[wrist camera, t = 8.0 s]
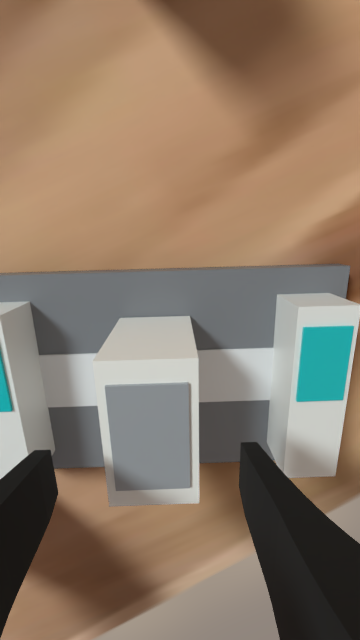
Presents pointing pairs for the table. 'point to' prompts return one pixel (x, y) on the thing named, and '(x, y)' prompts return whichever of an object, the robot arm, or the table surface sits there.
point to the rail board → (212, 348)
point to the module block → (149, 411)
